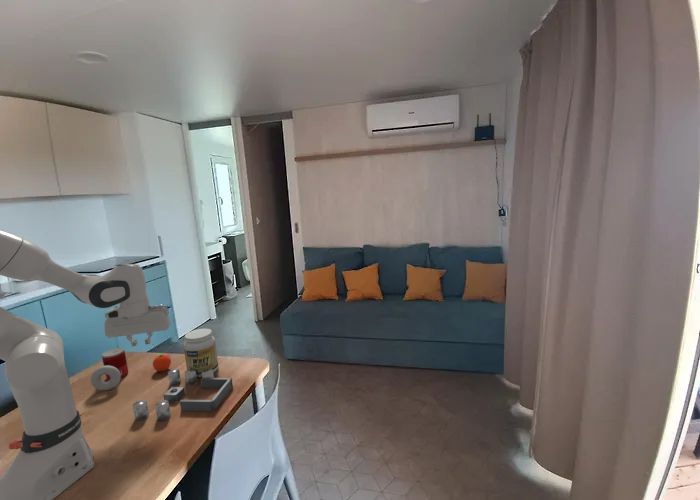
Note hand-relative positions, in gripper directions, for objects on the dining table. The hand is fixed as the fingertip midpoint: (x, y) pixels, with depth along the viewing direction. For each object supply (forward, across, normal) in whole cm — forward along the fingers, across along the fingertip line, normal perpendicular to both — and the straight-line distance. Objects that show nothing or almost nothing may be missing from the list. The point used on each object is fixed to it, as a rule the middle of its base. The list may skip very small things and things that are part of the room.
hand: (141, 344), depth 127 cm
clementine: (+21, +1, -22) cm, 30 cm away
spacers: (+21, -10, +4) cm, 24 cm away
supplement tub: (+21, -16, -14) cm, 30 cm away
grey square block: (+21, -9, +3) cm, 23 cm away
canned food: (+21, +19, -23) cm, 36 cm away
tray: (+21, -21, +8) cm, 31 cm away
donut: (+21, +19, -12) cm, 31 cm away
